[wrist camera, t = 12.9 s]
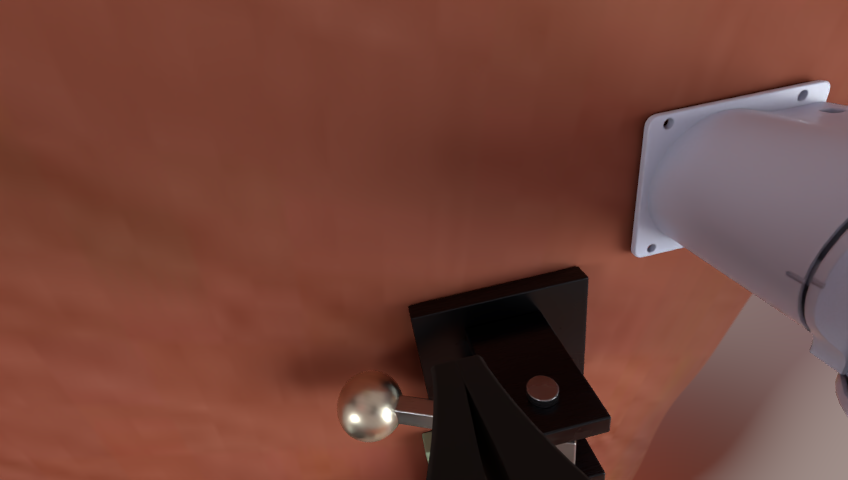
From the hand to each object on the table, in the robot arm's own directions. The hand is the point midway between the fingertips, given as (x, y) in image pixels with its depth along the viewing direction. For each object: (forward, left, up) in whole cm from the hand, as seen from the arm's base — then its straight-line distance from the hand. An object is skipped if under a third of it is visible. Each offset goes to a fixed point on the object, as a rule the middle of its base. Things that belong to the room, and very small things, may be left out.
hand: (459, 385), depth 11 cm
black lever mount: (-4, +9, -10) cm, 14 cm away
